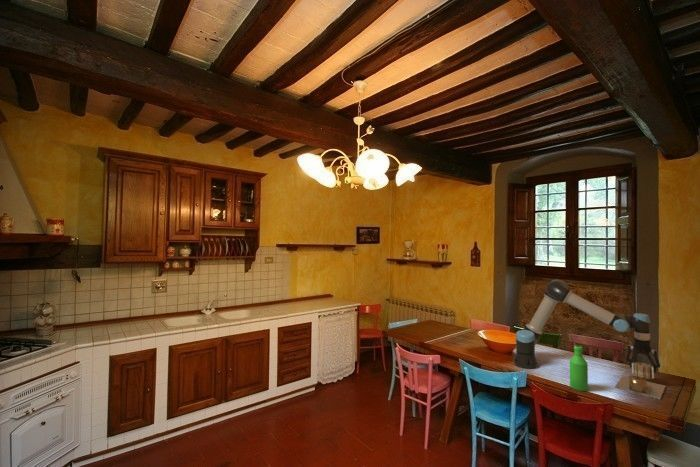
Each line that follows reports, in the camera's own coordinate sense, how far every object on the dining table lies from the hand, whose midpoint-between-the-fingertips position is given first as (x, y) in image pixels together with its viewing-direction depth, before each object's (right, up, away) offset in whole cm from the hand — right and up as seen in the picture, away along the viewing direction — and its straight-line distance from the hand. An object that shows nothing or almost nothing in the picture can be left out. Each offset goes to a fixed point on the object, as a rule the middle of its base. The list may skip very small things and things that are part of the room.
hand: (642, 375), depth 205 cm
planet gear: (0, 0, 0) cm, 0 cm away
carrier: (-7, -5, -6) cm, 10 cm away
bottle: (-45, -5, -8) cm, 46 cm away
